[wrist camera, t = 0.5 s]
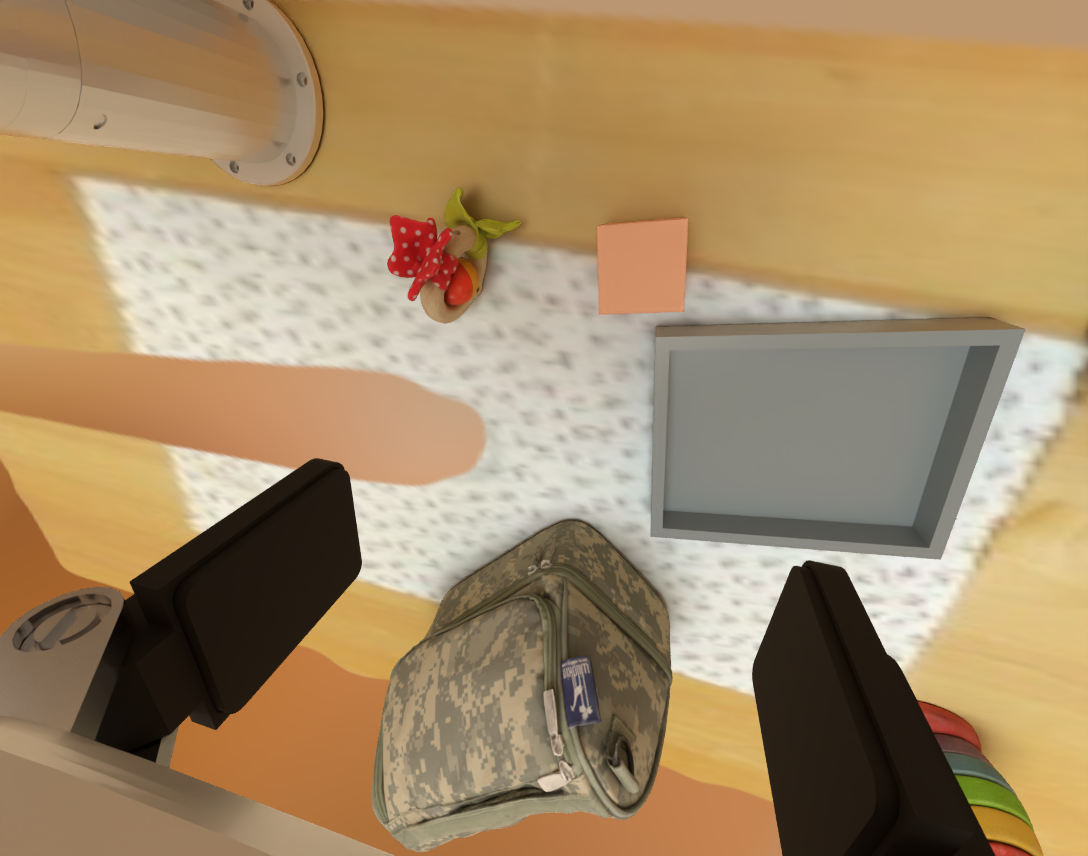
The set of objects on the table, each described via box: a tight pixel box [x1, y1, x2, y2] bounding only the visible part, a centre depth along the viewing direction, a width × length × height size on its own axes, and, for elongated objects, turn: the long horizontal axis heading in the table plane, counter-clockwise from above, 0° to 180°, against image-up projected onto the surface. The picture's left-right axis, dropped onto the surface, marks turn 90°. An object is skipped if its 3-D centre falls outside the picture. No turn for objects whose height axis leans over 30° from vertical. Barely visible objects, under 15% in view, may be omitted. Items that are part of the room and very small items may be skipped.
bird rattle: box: [387, 187, 521, 323], centre depth 33 cm, size 6×11×9 cm
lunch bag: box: [372, 521, 672, 852], centre depth 42 cm, size 26×18×22 cm
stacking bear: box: [918, 702, 1043, 856], centre depth 40 cm, size 11×10×18 cm
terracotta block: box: [597, 217, 688, 314], centre depth 32 cm, size 6×6×6 cm
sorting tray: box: [651, 317, 1025, 559], centre depth 36 cm, size 22×18×4 cm
